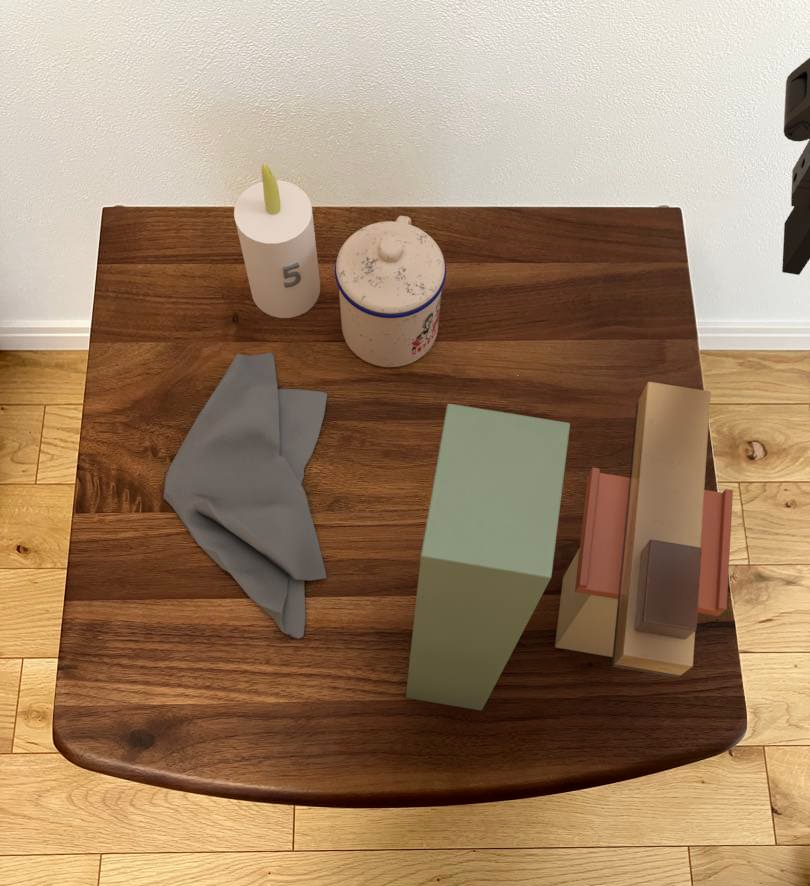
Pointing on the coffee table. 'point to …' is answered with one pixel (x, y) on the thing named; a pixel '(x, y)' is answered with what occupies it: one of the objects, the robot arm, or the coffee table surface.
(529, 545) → the mint green pillar
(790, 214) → the robot arm
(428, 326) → the teacup with lid
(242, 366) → the cloth
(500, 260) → the coffee table surface
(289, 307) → the candle
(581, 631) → the red-capped tan pillar
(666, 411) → the tan wooden block
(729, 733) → the coffee table surface
